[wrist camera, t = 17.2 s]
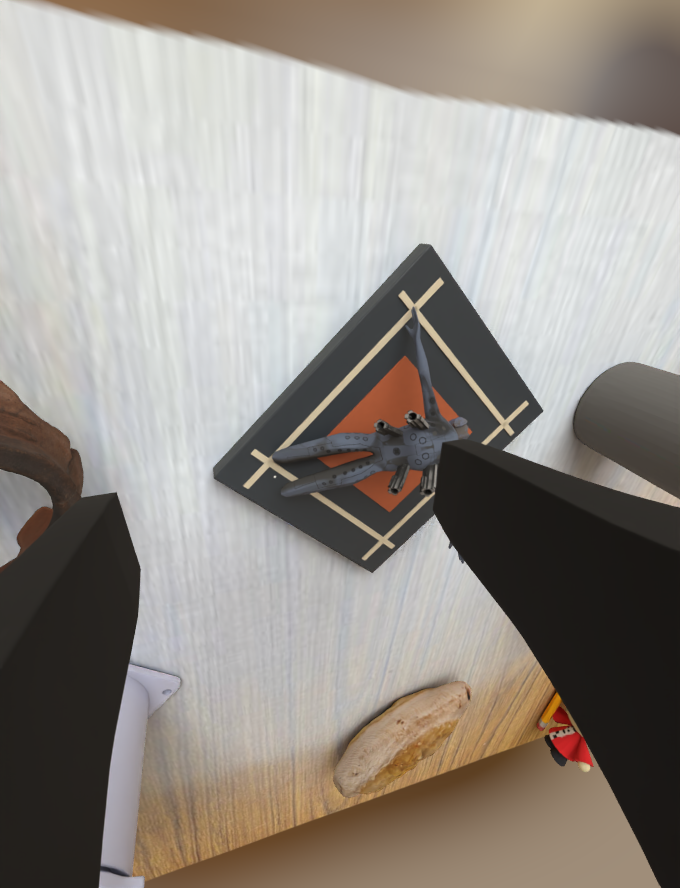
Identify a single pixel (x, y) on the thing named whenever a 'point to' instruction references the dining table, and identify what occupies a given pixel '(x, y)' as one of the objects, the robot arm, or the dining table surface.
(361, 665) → the dining table surface
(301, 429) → the board
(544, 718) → the pencil
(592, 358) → the dining table surface
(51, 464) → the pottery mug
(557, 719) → the toy
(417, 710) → the tan oval piece
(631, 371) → the bottle
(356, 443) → the figurine
